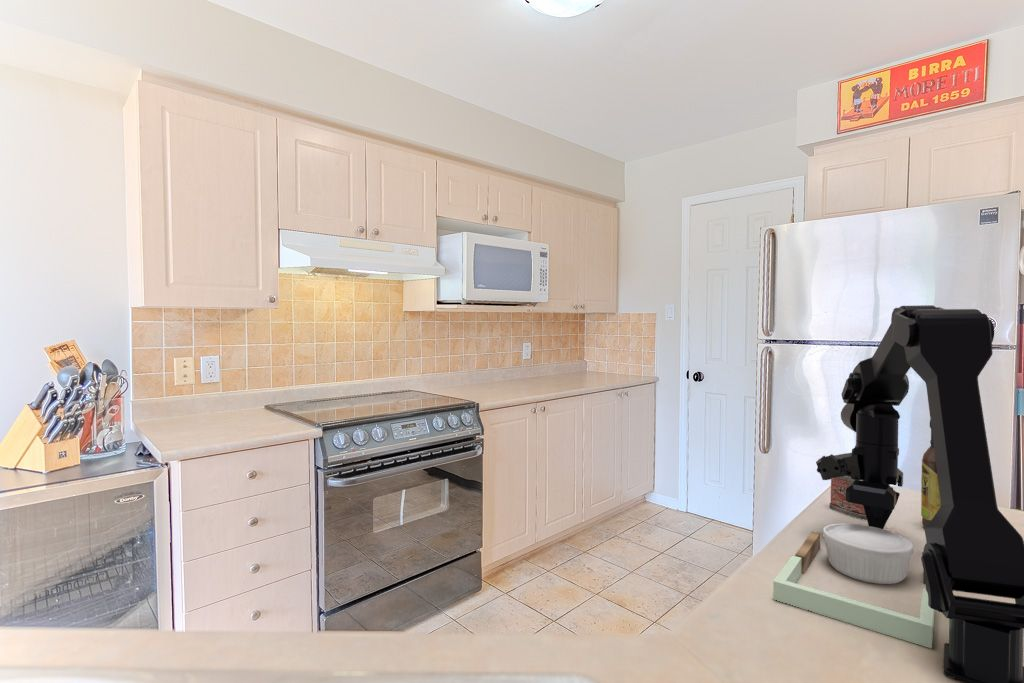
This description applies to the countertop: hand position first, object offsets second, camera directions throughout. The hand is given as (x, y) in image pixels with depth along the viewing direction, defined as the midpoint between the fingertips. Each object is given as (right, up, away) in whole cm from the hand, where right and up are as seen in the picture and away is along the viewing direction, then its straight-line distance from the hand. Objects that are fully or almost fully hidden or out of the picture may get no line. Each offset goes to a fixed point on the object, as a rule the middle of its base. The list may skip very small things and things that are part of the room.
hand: (875, 535), depth 87 cm
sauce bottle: (+17, -2, +7) cm, 18 cm away
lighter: (+6, -2, +16) cm, 17 cm away
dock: (-16, -2, -19) cm, 25 cm away
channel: (-8, -2, -10) cm, 13 cm away
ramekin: (-7, -2, -9) cm, 12 cm away
